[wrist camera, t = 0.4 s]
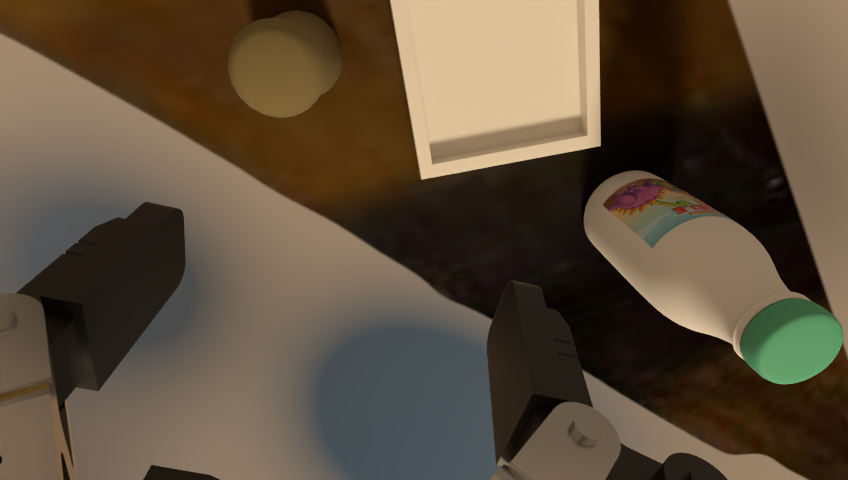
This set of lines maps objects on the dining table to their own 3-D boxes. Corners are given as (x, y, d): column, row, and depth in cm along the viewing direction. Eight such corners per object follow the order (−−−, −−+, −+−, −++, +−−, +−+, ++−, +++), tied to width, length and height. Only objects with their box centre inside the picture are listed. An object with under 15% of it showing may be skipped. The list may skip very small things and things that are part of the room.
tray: (379, -56, 34) (379, -61, 31) (582, -93, 34) (597, -100, 32) (418, 170, 40) (421, 179, 38) (588, 138, 40) (600, 145, 38)
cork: (342, 12, 35) (329, 12, 25) (343, 101, 38) (332, 132, 28) (253, 7, 34) (204, 4, 24) (260, 97, 37) (218, 128, 27)
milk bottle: (650, 255, 46) (832, 414, 27) (570, 246, 44) (706, 406, 26) (679, 174, 43) (908, 293, 24) (595, 162, 41) (768, 278, 23)
